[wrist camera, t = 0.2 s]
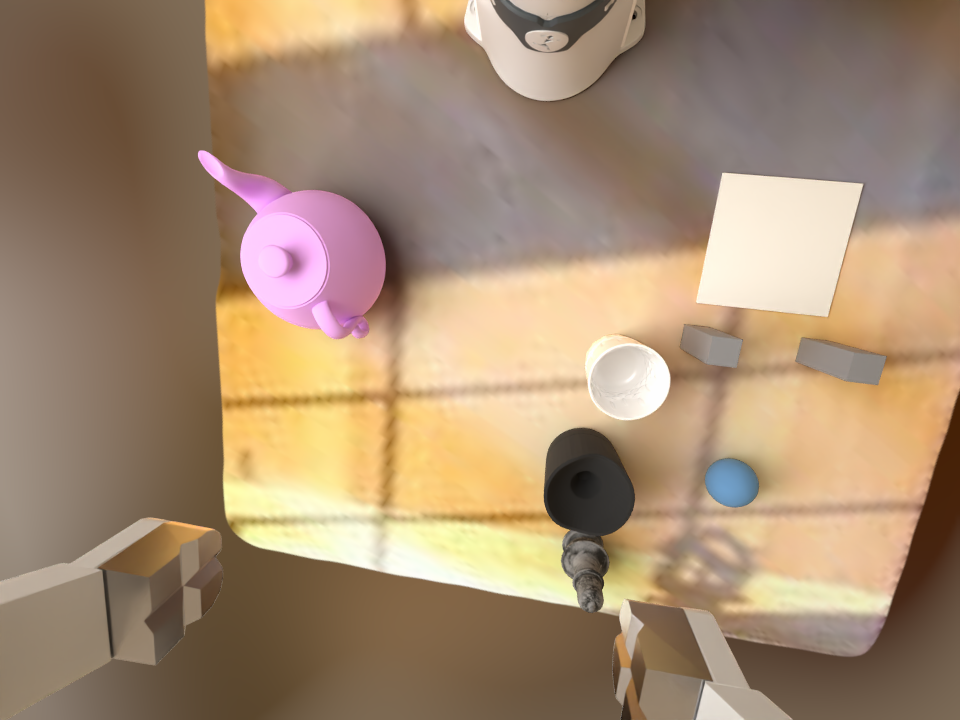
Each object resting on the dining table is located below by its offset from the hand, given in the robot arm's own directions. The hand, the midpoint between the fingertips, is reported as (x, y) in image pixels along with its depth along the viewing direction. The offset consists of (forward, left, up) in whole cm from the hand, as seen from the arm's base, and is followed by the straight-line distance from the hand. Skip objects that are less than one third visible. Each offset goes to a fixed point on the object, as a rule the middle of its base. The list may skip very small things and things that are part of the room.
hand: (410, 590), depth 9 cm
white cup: (+4, +12, -48) cm, 50 cm away
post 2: (0, +33, -48) cm, 58 cm away
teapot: (-5, -24, -48) cm, 54 cm away
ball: (+16, +27, -45) cm, 55 cm away
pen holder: (+17, +10, -48) cm, 52 cm away
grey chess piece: (+29, +12, -48) cm, 57 cm away
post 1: (0, +20, -48) cm, 52 cm away
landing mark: (-11, +27, -48) cm, 56 cm away
